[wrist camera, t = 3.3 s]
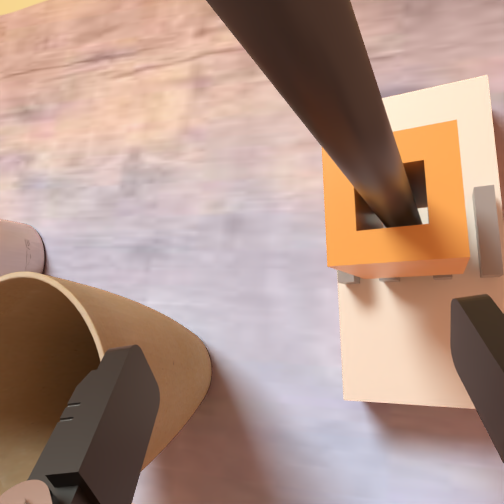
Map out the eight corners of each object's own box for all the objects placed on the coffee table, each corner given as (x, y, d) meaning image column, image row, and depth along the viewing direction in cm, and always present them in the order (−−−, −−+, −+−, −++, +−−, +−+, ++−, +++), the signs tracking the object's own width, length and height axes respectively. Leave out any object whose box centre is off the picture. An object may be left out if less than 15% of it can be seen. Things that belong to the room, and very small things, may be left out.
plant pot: (257, 290, 35) (125, 279, 21) (243, 475, 34) (90, 599, 19) (121, 280, 42) (-52, 265, 27) (104, 434, 40) (-87, 505, 26)
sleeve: (364, 278, 24) (327, 266, 16) (359, 193, 24) (321, 145, 17) (463, 273, 22) (470, 256, 14) (454, 180, 22) (456, 119, 15)
